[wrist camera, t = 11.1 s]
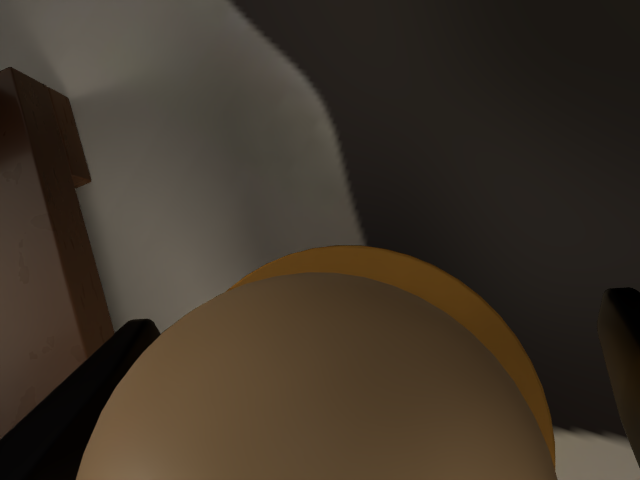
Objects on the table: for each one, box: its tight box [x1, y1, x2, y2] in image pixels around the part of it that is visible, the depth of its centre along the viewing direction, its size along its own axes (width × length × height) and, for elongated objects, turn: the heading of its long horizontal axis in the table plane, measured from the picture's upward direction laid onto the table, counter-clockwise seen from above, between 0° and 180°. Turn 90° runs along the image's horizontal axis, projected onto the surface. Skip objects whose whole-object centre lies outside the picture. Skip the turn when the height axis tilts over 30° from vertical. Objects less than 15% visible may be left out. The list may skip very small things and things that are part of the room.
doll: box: [76, 245, 558, 480], centre depth 9 cm, size 5×5×12 cm
